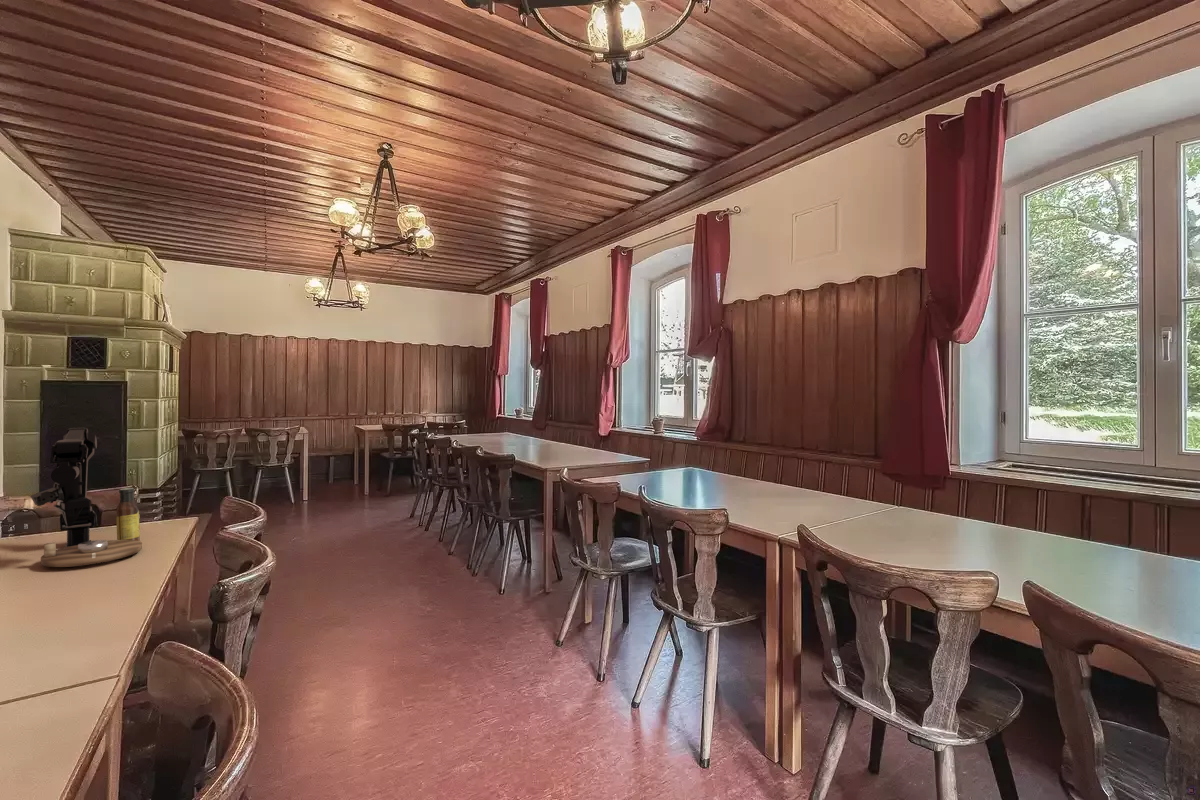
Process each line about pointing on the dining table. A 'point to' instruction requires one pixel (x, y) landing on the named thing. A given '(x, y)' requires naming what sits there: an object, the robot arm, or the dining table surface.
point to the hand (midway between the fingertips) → (69, 526)
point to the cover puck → (92, 546)
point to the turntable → (88, 554)
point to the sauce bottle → (127, 516)
